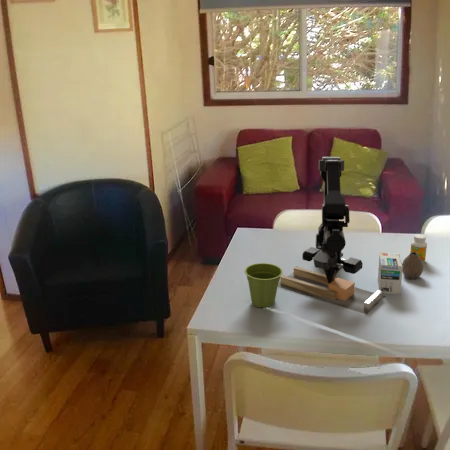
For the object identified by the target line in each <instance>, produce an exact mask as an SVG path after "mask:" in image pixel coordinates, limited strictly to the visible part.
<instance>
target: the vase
mask: <svg viewBox="0 0 450 450" xmlns="http://www.w3.org/2000/svg"><path fill="white" fill-rule="evenodd" d="M401 263H402V265H403V270H402V275H404V277H406V278H407V279H410V280H416V279H418V278H420V277H421V275H422V273H423V271H424V263H423V262H422V260H421V259H420V257H419V256H418V253H416V252H411V253H409V254H408V255H407V256H406V257H405V258H404V259H403V261H402V262H401Z"/></svg>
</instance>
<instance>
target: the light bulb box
mask: <svg viewBox="0 0 450 450" xmlns="http://www.w3.org/2000/svg"><path fill="white" fill-rule="evenodd" d="M378 254H379V258H378V269H377V270H378V272H377V285H378V290H380V291H382V294H385V295H386V294H388V295H401V288H402V278H403V277H402V276H403V272H402V270H403V265H402V263H403V262H402V259H401V255H400V253H396V252H395V253H394V252H393V253H392V252H379V253H378Z"/></svg>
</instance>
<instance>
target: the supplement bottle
mask: <svg viewBox="0 0 450 450" xmlns="http://www.w3.org/2000/svg"><path fill="white" fill-rule="evenodd" d="M426 237H427V236H426V235H424V234H419V233H418V234H417V233H416V234H414V236H413V240H412V241H411V243H410V253H411V252H416V253H418V256H419V257H420V259H421V260H422V262H424V263H426V256H427V250H428V249H427V248H428V243H427V242H426V239H427V238H426ZM410 253H409V254H410Z"/></svg>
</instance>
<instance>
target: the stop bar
mask: <svg viewBox="0 0 450 450" xmlns="http://www.w3.org/2000/svg"><path fill="white" fill-rule="evenodd" d="M373 293H374V294H373V295H372V296H371V297H370V298H369V299H367V300H366V301H365V302H364V310H366V311H369V310H370V309H371V308H372V307H373V306H374V305H375V304H376V303H377V302H378V301H379V300H380V299H381V298H382V295H383V293H382V291H380V290H379V289H377V290H376V291H375V292H373Z"/></svg>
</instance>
